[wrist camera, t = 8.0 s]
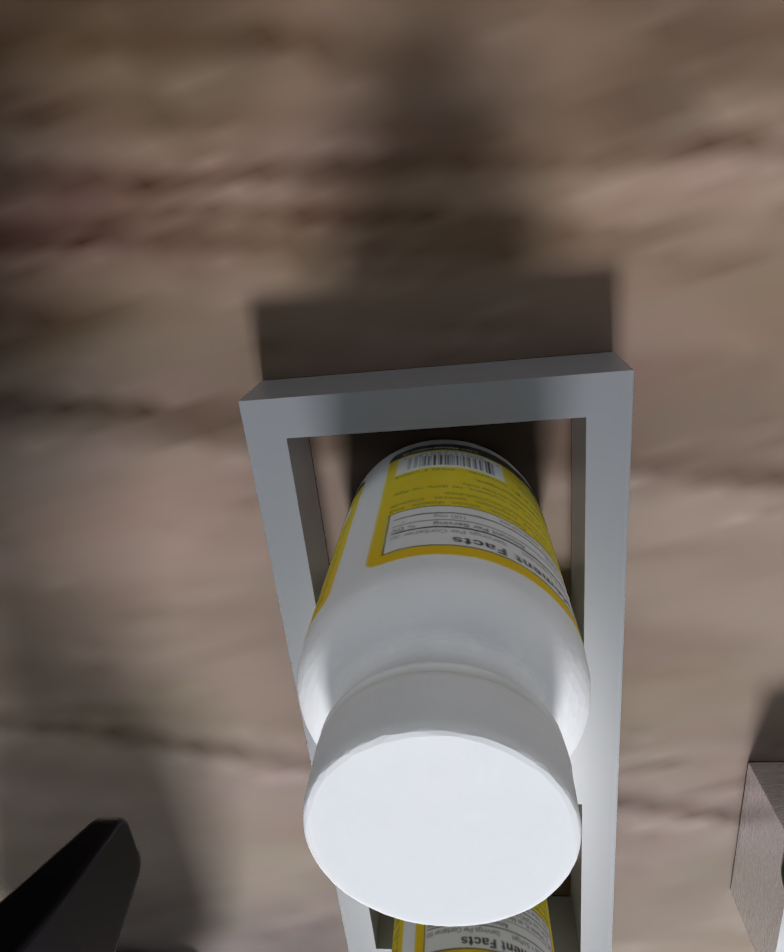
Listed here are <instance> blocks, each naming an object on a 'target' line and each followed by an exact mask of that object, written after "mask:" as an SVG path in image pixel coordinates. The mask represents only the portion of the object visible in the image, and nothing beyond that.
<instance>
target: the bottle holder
mask: <svg viewBox="0 0 784 952" xmlns="http://www.w3.org/2000/svg"><path fill="white" fill-rule="evenodd" d="M633 382H634V370H633V369H632V368H631V367H630V366H629V365H628V364H626V363H625V362H624V361H623V360H622V359H621V358H620V357H618V356H617V355H616V354H615V353H614V352H604V353H592V354H580V355H568V356H556V357H544V358H532V359H520V360H508V361H496V362H484V363H472V364H459V365H447V366H435V367H423V368H411V369H399V370H387V371H375V372H363V373H351V374H339V375H327V376H315V377H303V378H291V379H279V380H266V381H262V382H260V383H259V384H258V385H257V386H256V387H255V388H253V389H252V390H251V391H250V392H249V393H248V394H246V395H245V396H244V397H243V398H242V399H241V400H239V401H238V402H239V407H240V412H241V417H242V422H243V427H244V431H245V436H246V441H247V446H248V451H249V456H250V461H251V466H252V471H253V476H254V481H255V486H256V491H257V496H258V501H259V506H260V511H261V516H262V521H263V526H264V531H265V536H266V541H267V546H268V551H269V556H270V561H271V566H272V571H273V576H274V581H275V586H276V591H277V596H278V601H279V606H280V611H281V616H282V621H283V626H284V631H285V636H286V641H287V646H288V651H289V656H290V660H291V665H292V670H293V675H294V680H295V685H296V690H297V695H298V670H299V663H300V657H301V653H302V649H303V644H304V640H305V637H306V634H307V631H308V628H309V625H310V622H311V619H312V616H313V613H314V610H315V608H316V605H317V602H318V599H319V596H320V593H321V590H322V587H323V584H324V581H325V578H326V575H327V572H328V569H329V561H328V554H327V548H326V542H325V536H324V530H323V524H322V517H321V511H320V505H319V499H318V493H317V486H316V480H315V474H314V468H313V462H312V456H311V449H310V443H309V437H314V436H328V435H342V434H356V433H370V432H385V431H399V430H413V429H427V428H441V427H455V426H469V425H484V424H498V423H512V422H526V421H540V420H554V419H568V418H571V607H572V610H573V613H574V616H575V619H576V622H577V626H578V629H579V632H580V635H581V638H582V641H583V645H584V649H585V653H586V658H587V662H588V667H589V672H590V679H591V703H590V711H589V716H588V720H587V724H586V727H585V730H584V733H583V735H582V737H581V739H580V741H579V744H578V746H577V747H576V749H575V750H574V752H573V753H572V755H571V756H570V761H571V764H572V772H573V779H574V785H575V790H576V796H577V801H578V807H579V813H580V818H581V824H582V835H581V845H580V850H579V853H578V857H577V860H576V862H575V864H574V866H573V868H572V870H571V897H561V896H548V897H547V904H548V911H549V918H550V925H551V932H552V939H553V947H554V952H611V949H612V923H613V897H614V872H615V846H616V820H617V794H618V769H619V743H620V717H621V691H622V666H623V640H624V614H625V588H626V563H627V537H628V511H629V485H630V460H631V434H632V408H633ZM298 700H299V696H298ZM299 705H300V702H299ZM300 710H301V707H300ZM301 715H302V711H301ZM302 720H303V725H304V730H305V735H306V740H307V745H308V750H309V755H310V760H311V765H312V763H313V759H314V754H315V749H316V746H317V745H316V743H315V742H314V740H313V738H312V736H311V735H310V732H309V730H308V728H307V726H306V724H305V721H304V718H303V715H302ZM336 890H337V894H338V899H339V904H340V909H341V914H342V919H343V924H344V929H345V934H346V939H347V944H348V949H349V952H392V943H393V931H394V917H391V916H388V915H385V914H382V913H380V912H378V911H376V910H374V909H372V908H369V907H367V906H366V905H364V904H362V903H360V902H358V901H357V900H355V899H354V898H352V897H350V896H349V895H347V894H346V893H344V892H343V891H342V890H341V889H339V888H338V887H337V886H336Z"/></svg>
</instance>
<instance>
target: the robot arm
mask: <svg viewBox="0 0 784 952" xmlns="http://www.w3.org/2000/svg"><path fill="white" fill-rule="evenodd" d="M140 867H141V859H140V853H139V850H138V848H137V845H136V842H135V839H134V837H133V834H132V831H131V828H130V826H129V823H128V821H127V820H125V819H124V818H115V817H103V818H98V819H96V820H94V821H93V822H91V823H90V824H89V825H88V826H87V827H85V828H84V829H83V830H82V831H81V832H80V833H79V834H77V835H76V836H75V837H74V838H73V839H72V840H71V841H69V842H68V843H67V844H66V845H65V846H64V847H63V848H61V849H60V850H59V851H58V852H57V853H56V854H55V855H53V856H52V857H51V858H50V859H49V860H48V861H47V862H45V863H44V864H43V865H42V866H41V867H40V868H38V869H37V870H36V871H35V872H34V873H33V874H32V875H30V876H29V877H28V878H27V879H26V880H25V881H24V882H22V883H21V884H20V885H19V886H18V887H17V888H16V889H14V890H13V891H12V892H11V893H10V894H9V895H8V896H6V897H5V898H4V899H3V900H2V901H1V902H0V952H116V949H117V945H118V942H119V939H120V936H121V932H122V929H123V926H124V923H125V919H126V916H127V913H128V909H129V906H130V903H131V900H132V896H133V893H134V890H135V887H136V883H137V880H138V877H139V873H140ZM781 878H782V883H783V887H784V852H783V858H782V863H781Z"/></svg>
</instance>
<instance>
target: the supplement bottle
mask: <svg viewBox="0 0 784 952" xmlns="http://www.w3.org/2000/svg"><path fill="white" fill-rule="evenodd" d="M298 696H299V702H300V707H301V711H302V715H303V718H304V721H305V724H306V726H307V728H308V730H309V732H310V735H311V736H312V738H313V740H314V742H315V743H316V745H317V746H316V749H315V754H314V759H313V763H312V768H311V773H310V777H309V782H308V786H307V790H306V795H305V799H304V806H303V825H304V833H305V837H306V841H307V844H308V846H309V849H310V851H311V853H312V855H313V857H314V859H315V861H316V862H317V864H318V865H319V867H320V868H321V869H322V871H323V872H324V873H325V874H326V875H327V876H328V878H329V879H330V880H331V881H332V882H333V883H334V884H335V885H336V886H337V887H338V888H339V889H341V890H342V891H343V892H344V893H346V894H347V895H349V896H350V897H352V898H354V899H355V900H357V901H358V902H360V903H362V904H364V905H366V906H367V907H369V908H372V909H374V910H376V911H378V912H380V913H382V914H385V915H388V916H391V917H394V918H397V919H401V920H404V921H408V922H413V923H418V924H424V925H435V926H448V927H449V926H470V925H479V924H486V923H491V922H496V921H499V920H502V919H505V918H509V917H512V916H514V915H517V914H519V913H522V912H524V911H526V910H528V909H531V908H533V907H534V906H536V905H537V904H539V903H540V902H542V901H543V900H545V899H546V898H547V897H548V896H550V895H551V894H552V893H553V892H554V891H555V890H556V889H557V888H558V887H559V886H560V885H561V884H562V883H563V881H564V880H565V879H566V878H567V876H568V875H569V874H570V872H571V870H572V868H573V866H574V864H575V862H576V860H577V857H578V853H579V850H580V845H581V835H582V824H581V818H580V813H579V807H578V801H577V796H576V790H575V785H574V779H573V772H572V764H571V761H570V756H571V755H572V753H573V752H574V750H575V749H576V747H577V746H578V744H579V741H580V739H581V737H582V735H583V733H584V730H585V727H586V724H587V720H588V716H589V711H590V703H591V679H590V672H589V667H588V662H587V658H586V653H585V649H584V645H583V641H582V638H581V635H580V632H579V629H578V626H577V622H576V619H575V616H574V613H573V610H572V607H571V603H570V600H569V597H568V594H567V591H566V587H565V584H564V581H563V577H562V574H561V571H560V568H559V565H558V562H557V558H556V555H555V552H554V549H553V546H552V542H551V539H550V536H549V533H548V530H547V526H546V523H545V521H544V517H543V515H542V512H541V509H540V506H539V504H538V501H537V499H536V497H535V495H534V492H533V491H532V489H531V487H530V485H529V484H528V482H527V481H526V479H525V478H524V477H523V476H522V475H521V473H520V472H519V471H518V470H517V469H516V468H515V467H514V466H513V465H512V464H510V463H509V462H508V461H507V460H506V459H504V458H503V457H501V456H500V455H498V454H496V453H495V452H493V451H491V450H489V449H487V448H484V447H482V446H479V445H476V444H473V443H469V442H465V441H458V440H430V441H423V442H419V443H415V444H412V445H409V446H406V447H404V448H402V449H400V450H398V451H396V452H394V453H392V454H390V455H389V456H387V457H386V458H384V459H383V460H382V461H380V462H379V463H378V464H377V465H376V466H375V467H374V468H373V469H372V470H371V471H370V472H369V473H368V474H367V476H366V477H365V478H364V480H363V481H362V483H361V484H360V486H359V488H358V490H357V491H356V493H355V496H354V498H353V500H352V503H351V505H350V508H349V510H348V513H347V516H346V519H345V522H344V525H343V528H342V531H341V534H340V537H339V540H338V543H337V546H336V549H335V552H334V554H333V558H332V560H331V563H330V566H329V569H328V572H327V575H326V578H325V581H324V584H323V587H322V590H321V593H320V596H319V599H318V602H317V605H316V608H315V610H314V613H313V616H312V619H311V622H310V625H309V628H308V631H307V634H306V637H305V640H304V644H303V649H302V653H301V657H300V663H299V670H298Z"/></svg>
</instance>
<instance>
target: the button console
mask: <svg viewBox="0 0 784 952" xmlns="http://www.w3.org/2000/svg"><path fill="white" fill-rule="evenodd" d="M783 852H784V762H748V769H747V776H746V783H745V790H744V798H743V805H742V812H741V819H740V826H739V833H738V840H737V848H736V855H735V862H734V869H733V876H732V883H731V893H732V896H733V898H734V901H735V903H736V905H737V908H738V910H739V913H740V915H741V918H742V920H743V923H744V925H745V928H746V930H747V933H748V935H749V937H750V940H751V942H752V945H753V947H754V950H755V952H784V887H783V883H782V878H781V863H782V858H783Z"/></svg>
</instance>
